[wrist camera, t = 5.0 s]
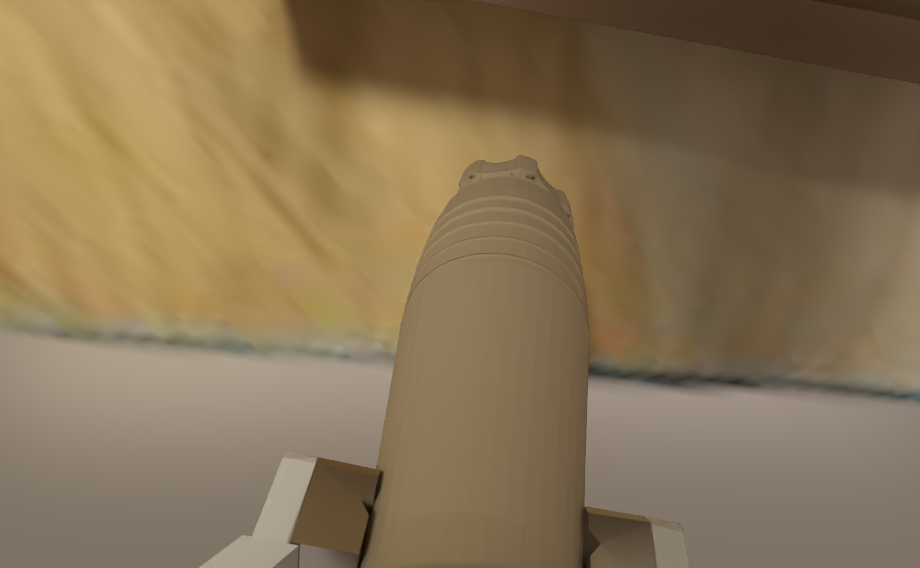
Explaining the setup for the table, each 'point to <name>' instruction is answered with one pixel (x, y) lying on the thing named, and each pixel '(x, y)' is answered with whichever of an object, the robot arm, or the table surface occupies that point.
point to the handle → (488, 387)
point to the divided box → (769, 27)
